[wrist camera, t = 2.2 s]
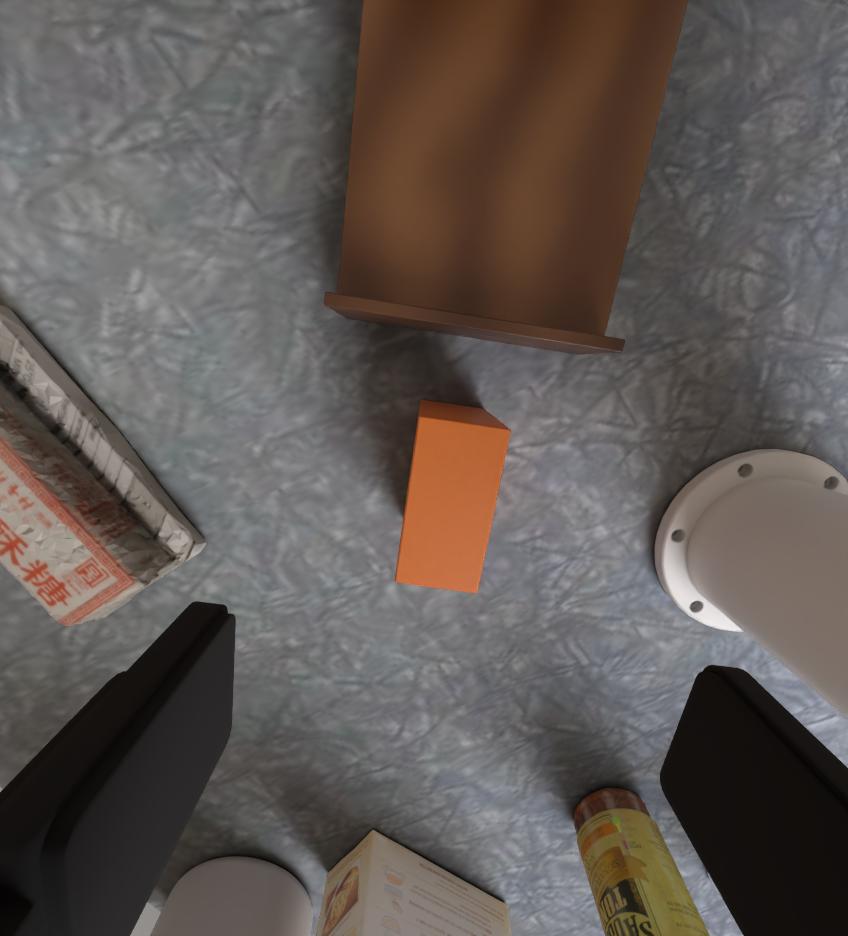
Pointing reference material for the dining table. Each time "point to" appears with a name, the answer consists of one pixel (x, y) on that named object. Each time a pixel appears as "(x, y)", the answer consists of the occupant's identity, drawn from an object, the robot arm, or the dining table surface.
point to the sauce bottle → (632, 869)
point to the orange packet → (451, 496)
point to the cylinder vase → (236, 901)
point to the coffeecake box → (403, 897)
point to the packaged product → (75, 493)
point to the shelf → (500, 164)
